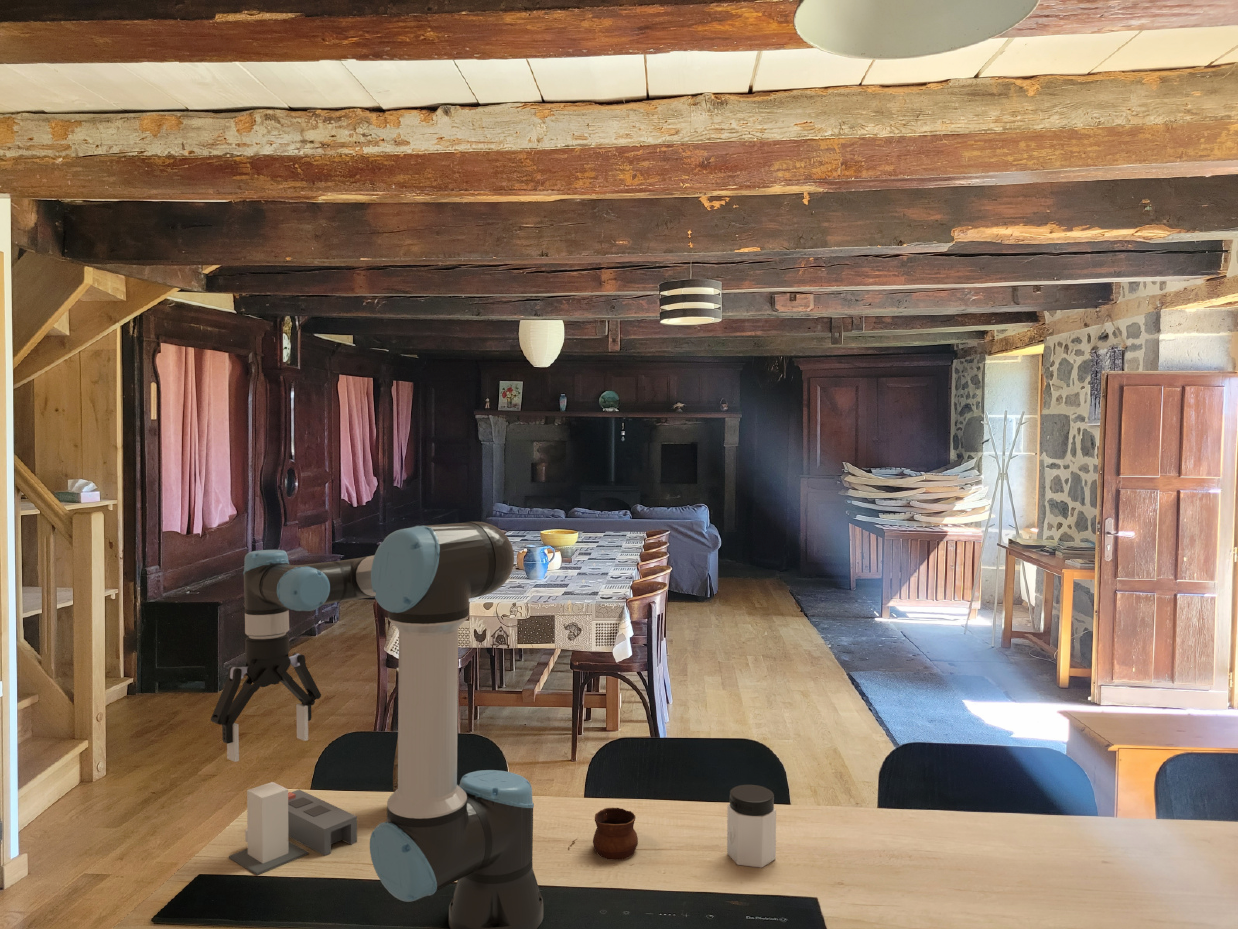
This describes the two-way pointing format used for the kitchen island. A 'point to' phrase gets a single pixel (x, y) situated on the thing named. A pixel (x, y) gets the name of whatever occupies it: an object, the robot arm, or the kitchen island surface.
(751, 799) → the jar
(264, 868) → the mat
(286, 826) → the charger
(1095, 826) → the kitchen island surface
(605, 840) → the ceramic pot
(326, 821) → the power strip
